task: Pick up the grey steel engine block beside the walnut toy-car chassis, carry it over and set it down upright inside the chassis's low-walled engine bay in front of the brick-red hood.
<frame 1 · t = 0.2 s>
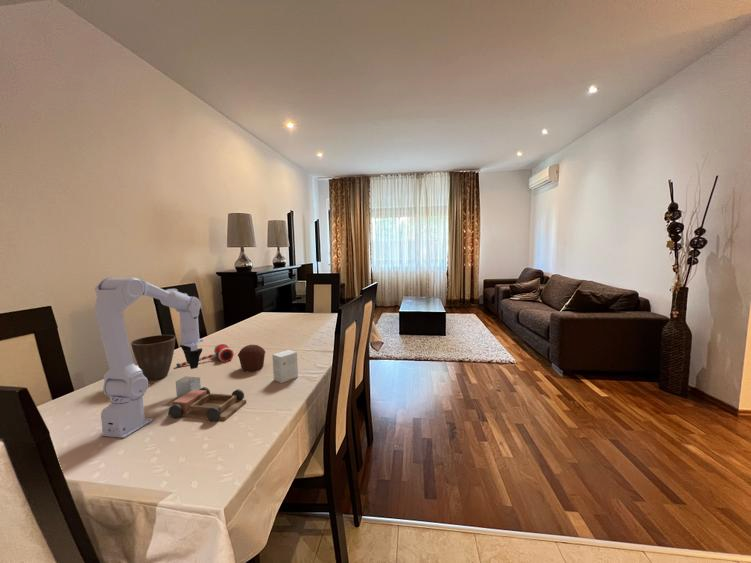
hand: (192, 365, 117), 10 cm above the table, tool pointing down, fingers open, 7 cm apart
small box: (285, 379, 128), on the table
engine block: (189, 395, 114), on the table
toy hammer: (210, 362, 150), on the table
plant pot: (157, 377, 131), on the table
muffin: (252, 368, 140), on the table
chassis: (208, 408, 104), on the table
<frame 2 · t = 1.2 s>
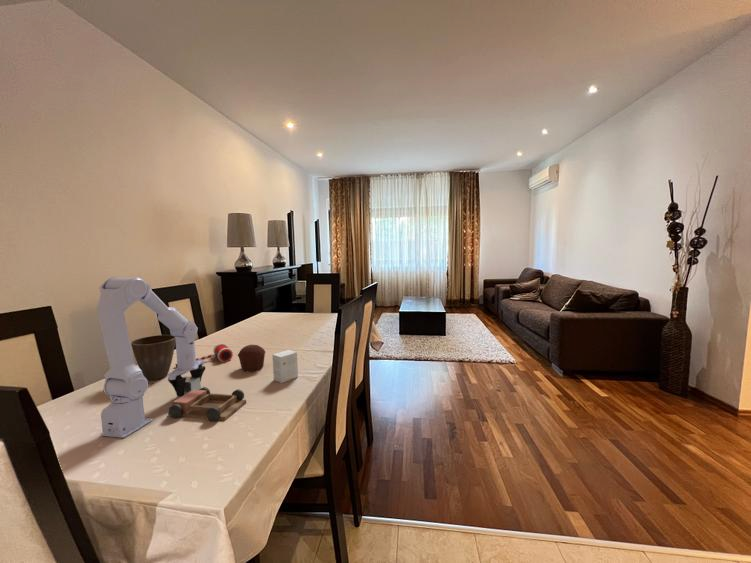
hand: (188, 391, 114), 1 cm above the table, tool pointing down, fingers open, 7 cm apart
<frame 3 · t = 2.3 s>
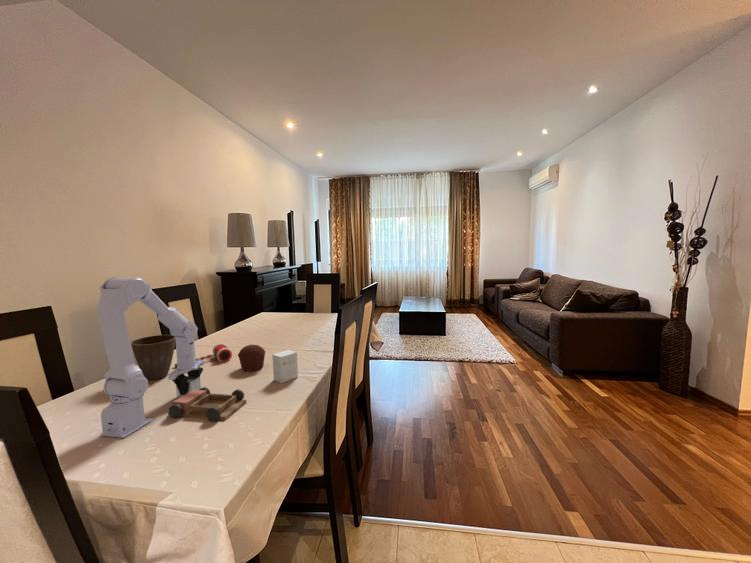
hand: (188, 391, 114), 1 cm above the table, tool pointing down, fingers closed on engine block, 4 cm apart
engine block: (189, 395, 114), on the table, touching gripper
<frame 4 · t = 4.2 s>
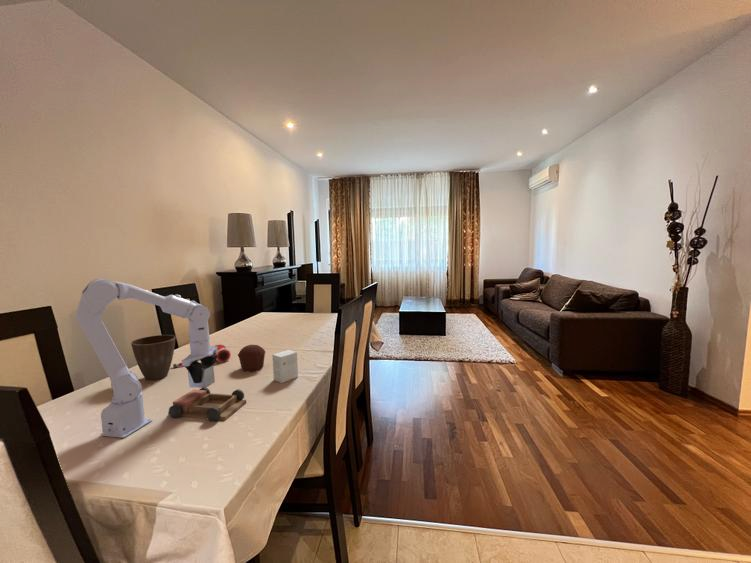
hand: (202, 379, 107), 8 cm above the table, tool pointing down, fingers closed on engine block, 4 cm apart
engine block: (202, 384, 107), point 7 cm above the table, touching gripper
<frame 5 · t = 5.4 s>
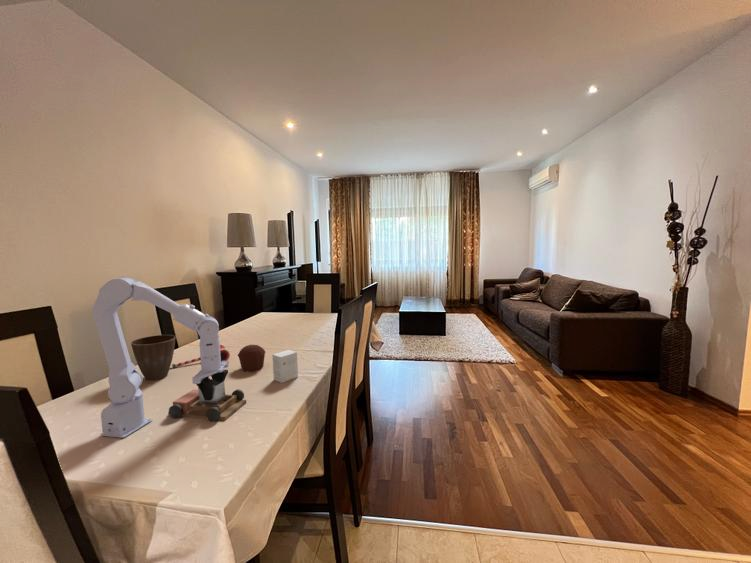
hand: (213, 396, 103), 4 cm above the table, tool pointing down, fingers closed on engine block, 4 cm apart
engine block: (212, 401, 103), point 3 cm above the table, touching gripper
when the fingers open (4 cm above the table, at t = 6.4 s): engine block drops 1 cm, resting on chassis.
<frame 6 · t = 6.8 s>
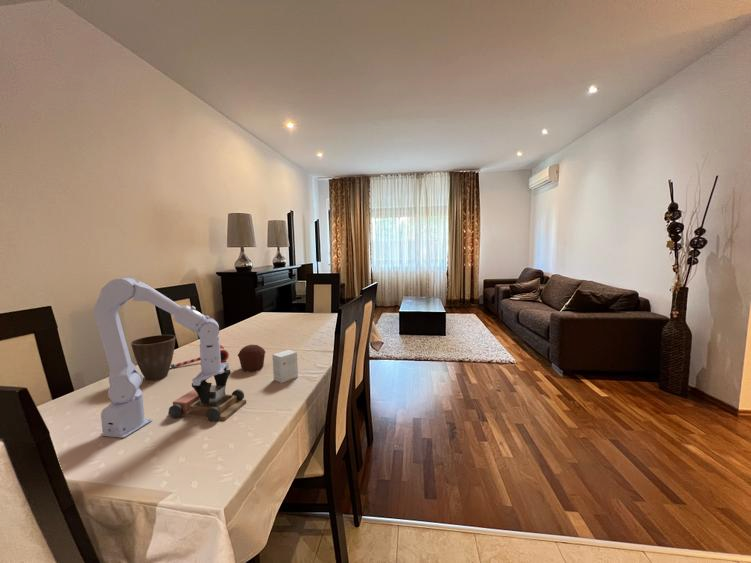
hand: (213, 397, 103), 4 cm above the table, tool pointing down, fingers open, 7 cm apart
engine block: (213, 406, 103), point 1 cm above the table, touching chassis
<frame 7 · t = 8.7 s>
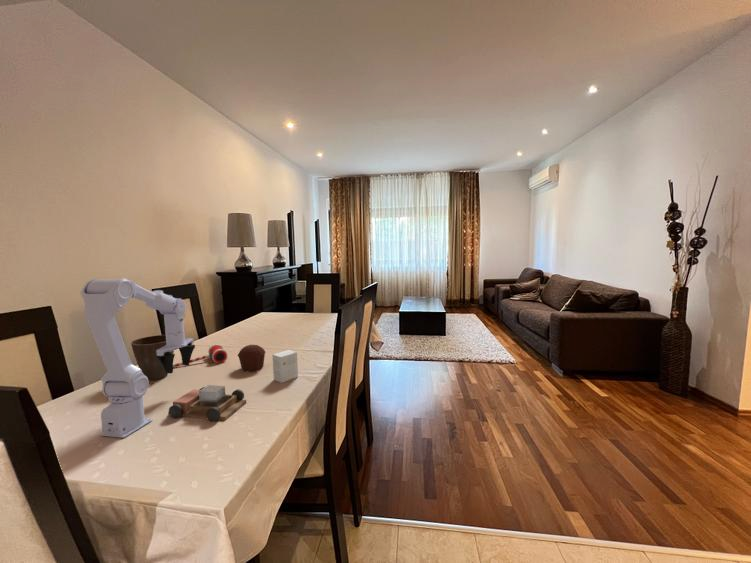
hand: (178, 368, 114), 9 cm above the table, tool pointing down, fingers open, 7 cm apart
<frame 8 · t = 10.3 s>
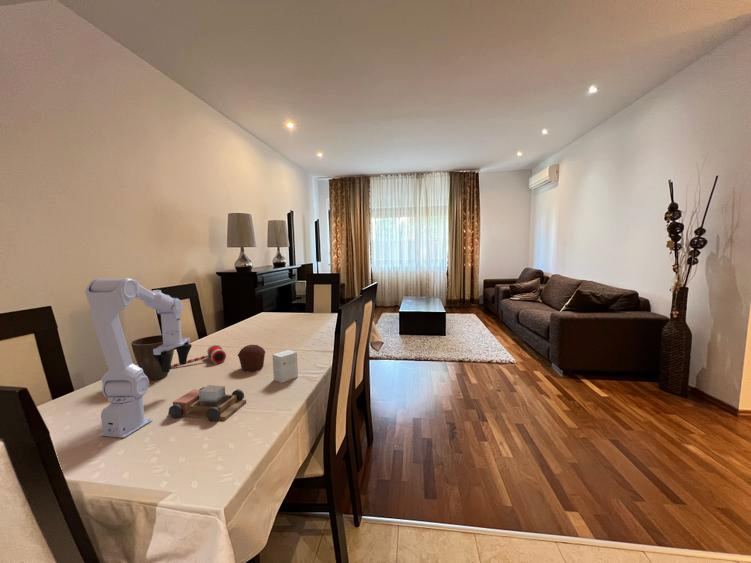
hand: (174, 368, 115), 9 cm above the table, tool pointing down, fingers open, 7 cm apart
at the end: engine block 0.3 cm from the target spot on the chassis, point 1.0 cm above the chassis's base; engine block tilted 0°; the gripper is holding nothing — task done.
